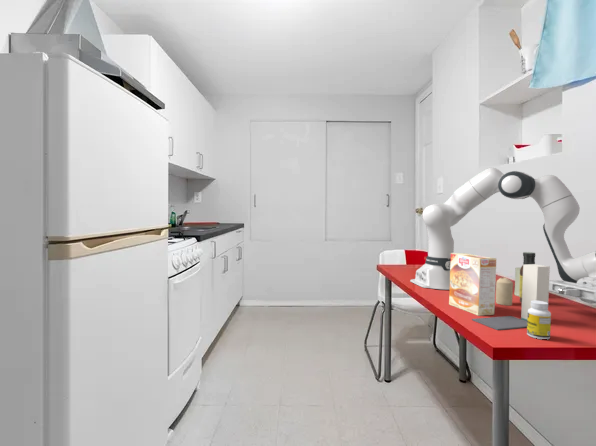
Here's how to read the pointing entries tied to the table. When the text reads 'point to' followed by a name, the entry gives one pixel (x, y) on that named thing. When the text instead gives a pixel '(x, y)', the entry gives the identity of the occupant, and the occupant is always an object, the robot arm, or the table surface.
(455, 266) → the coffeecake box
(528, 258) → the sauce bottle
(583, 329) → the table surface
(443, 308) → the table surface
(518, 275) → the can
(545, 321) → the supplement bottle
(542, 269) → the block
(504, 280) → the candle
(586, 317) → the table surface
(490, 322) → the mat
